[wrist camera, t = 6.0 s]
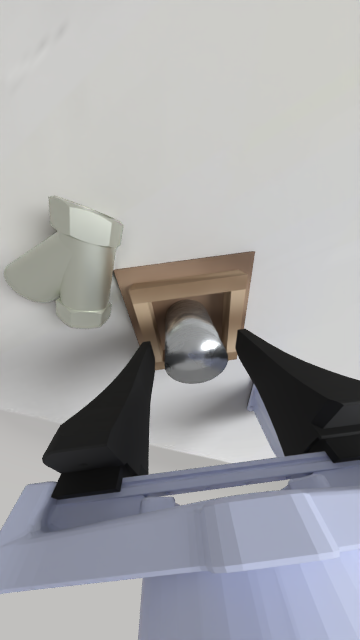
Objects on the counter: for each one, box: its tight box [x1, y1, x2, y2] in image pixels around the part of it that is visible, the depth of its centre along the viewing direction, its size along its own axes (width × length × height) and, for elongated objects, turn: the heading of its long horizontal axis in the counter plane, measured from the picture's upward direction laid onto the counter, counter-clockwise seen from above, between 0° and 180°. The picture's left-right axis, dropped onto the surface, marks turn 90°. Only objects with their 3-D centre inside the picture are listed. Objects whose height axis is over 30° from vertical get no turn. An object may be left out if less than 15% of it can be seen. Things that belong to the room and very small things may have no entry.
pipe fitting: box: [4, 196, 123, 329], centre depth 10 cm, size 8×4×7 cm
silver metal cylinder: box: [164, 299, 228, 384], centre depth 12 cm, size 4×4×6 cm
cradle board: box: [114, 251, 255, 370], centre depth 15 cm, size 12×12×3 cm
